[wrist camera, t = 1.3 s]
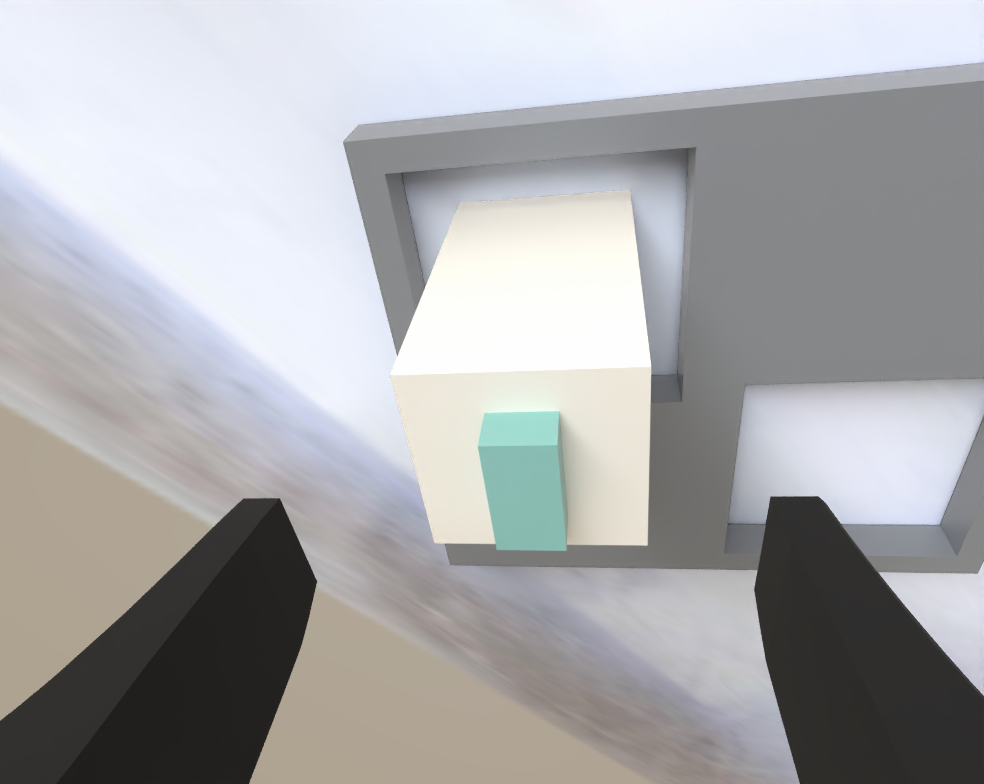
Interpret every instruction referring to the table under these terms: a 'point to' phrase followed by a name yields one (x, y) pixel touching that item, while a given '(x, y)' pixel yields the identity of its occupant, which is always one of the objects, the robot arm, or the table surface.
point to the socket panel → (756, 275)
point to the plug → (532, 377)
